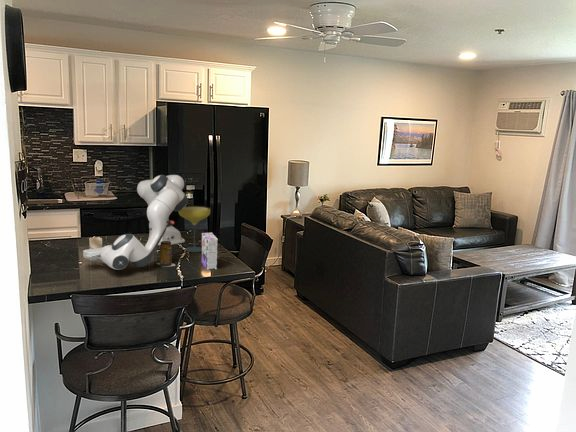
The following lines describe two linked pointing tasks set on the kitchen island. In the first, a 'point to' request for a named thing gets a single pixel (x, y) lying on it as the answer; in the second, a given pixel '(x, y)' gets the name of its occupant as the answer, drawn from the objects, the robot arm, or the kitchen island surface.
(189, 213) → the cocktail glass
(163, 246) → the condiment
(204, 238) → the candy box
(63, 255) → the kitchen island surface
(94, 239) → the flip block
